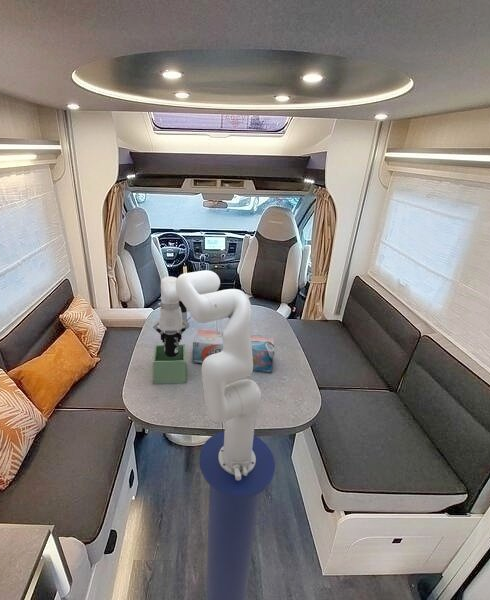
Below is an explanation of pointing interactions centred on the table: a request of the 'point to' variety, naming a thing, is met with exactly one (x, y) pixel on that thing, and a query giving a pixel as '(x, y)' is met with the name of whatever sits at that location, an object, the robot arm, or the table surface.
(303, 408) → the table surface
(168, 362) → the trash bin
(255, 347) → the soda box
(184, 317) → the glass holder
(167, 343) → the beverage can
